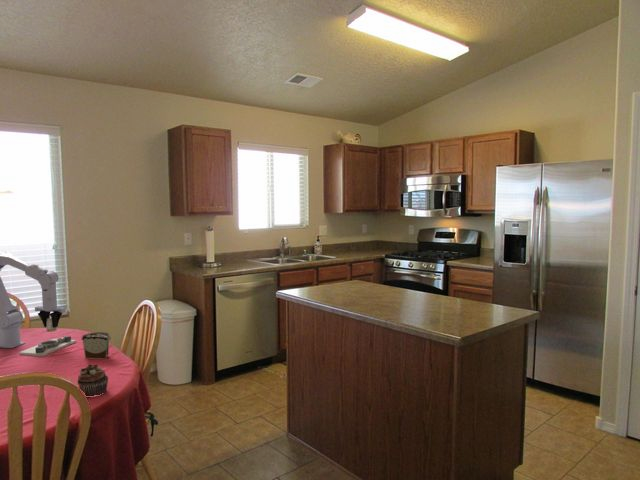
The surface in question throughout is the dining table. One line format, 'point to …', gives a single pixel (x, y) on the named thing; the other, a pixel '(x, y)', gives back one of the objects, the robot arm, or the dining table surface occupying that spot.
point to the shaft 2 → (64, 339)
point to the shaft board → (33, 351)
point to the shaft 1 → (41, 348)
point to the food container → (96, 345)
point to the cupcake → (92, 380)
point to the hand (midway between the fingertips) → (51, 326)
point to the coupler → (50, 325)
